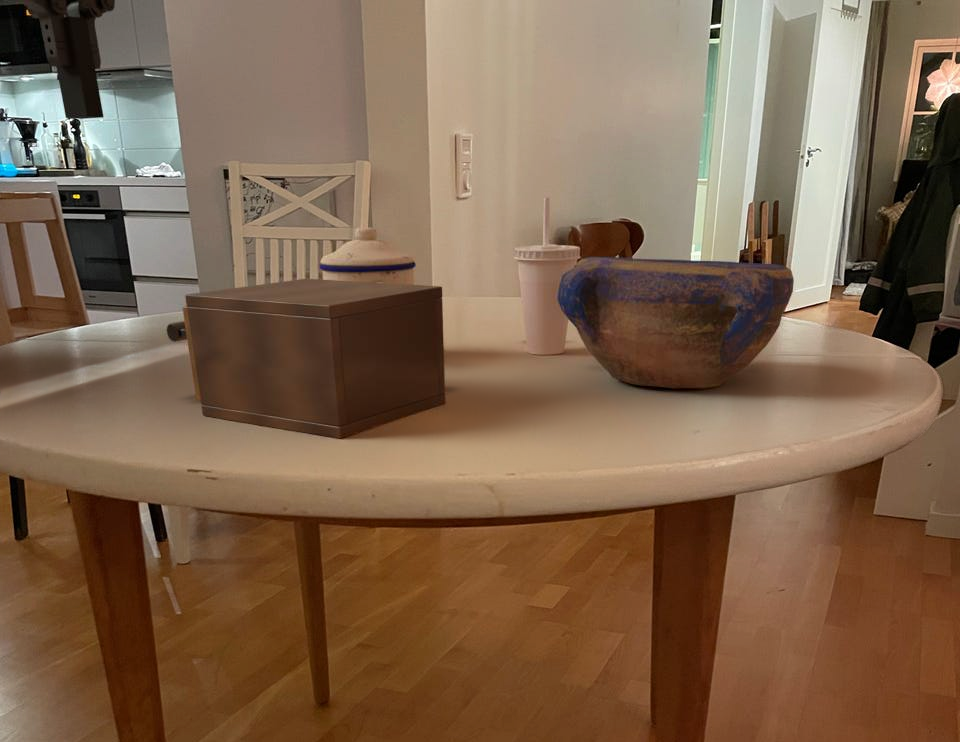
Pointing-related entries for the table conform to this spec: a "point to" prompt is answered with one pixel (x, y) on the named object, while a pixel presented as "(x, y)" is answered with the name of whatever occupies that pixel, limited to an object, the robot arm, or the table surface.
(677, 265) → the bowl
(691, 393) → the table surface
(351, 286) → the cabinet
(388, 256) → the teacup with lid
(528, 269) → the smoothie
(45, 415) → the table surface
